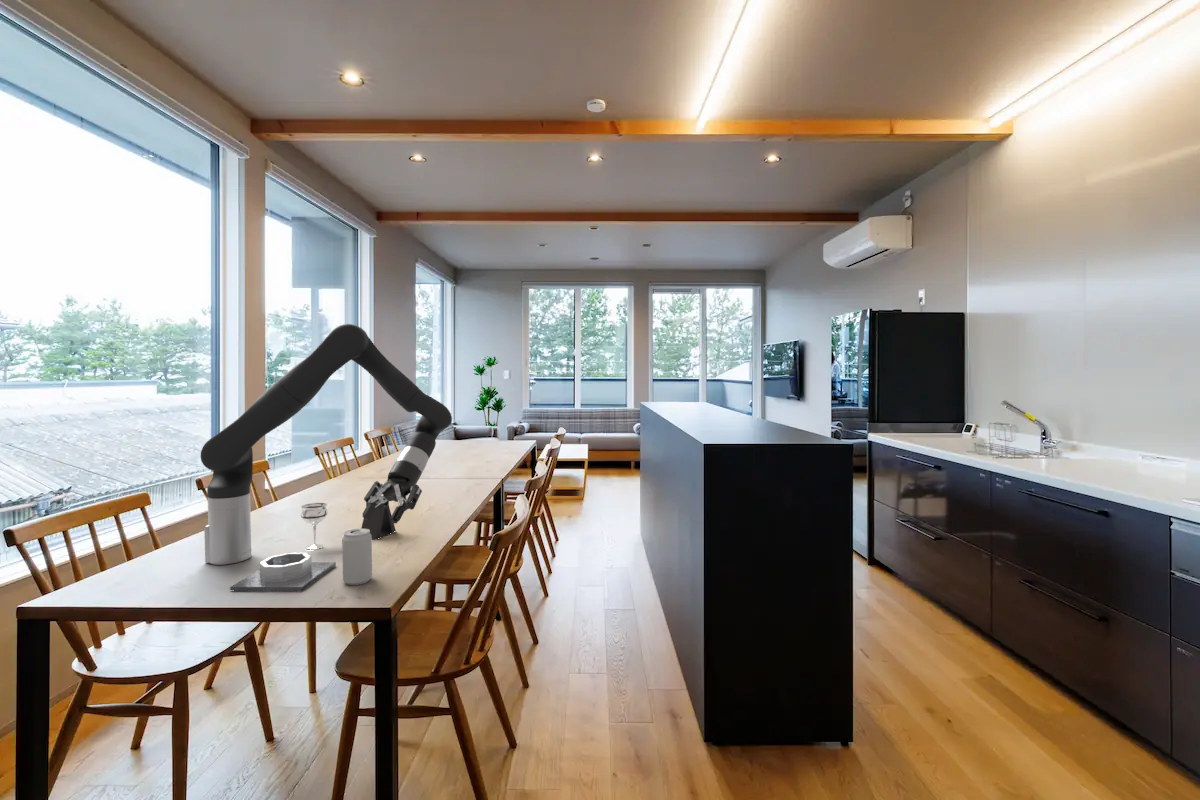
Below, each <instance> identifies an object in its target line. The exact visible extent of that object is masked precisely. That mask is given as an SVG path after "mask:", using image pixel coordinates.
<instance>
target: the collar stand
mask: <svg viewBox="0 0 1200 800" xmlns="http://www.w3.org/2000/svg"><path fill="white" fill-rule="evenodd" d="M336 566H337V565H336V561H329V562H326V561H324V562H322V561H316V562H315V561H312V556H311V555H309V553H307V552H285V553H280V554H276V555H270V556H269V557H267V558H265V559H264V560H262V561H260V562H259V569H258V570H257V571H255V572H253V573H252V574H249V575H248V576H247V577H245V578H243V579H242V580H239V581H238V582H236V583H234V584H232V585H231V586H230V587H229V590H234V591H233V592H302V591H304V590H306V589H307V588H308V587H310V586H311V585H312V584H314V583H315V582H316V581H317V579H318V580H319V579H320V578H322V577H323V576H325V573H326V574H327V573H328V572H330V571H331V570H332V569H335V567H336ZM314 581H315V582H314Z"/></svg>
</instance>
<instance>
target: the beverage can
mask: <svg viewBox="0 0 1200 800" xmlns="http://www.w3.org/2000/svg"><path fill="white" fill-rule="evenodd" d="M341 539H342V540H341V546H342V547H341V549H342V550H341V552H342V554H341V555H342V556H341V557H342V559H341V560H342V561H341V562H342V582H343V583H345V584H346V585H349V586H360V585H364V584H366V583H368V582H369V581H370V579H372V577H373V549H372V548H373V545H372V544H373V541H372V540H373V539H372V535H371V534H370V530H369V529H361V528H353V529H349V530H346V531H344V532H343V536H342V538H341ZM363 583H364V584H363ZM359 584H360V585H359Z"/></svg>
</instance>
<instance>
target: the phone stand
mask: <svg viewBox="0 0 1200 800" xmlns="http://www.w3.org/2000/svg"><path fill="white" fill-rule="evenodd" d="M371 497H372V495H371ZM371 497H370V499H371ZM381 497H382V498H384V496H383V495H381ZM378 500H379V499H377V500H376V501H374V502H377V501H378ZM365 504H366V505H365V508H366V507H367V505H368V503H367V502H366V501H365ZM391 516H392V512H391V508H390V501H387V502H385V503H381V504H380V505H378V506H377V507H376V509H375V511H374V513H373V514H372V516H371V518H370V520H365V519H364V518H363V519H362V524H361V528H360V529H369V530H370V534H371V535H372V540H373V539H377V540H379V539H378V538H380V537H382V538H384V537H383V536H385V535H387V536H389V535H391V534H390V533H392V532H394V531H397V530H396V527H395V523H393V522H392V521H391V520H390V518H391ZM394 533H395V532H394ZM388 534H389V535H388ZM392 534H393V533H392ZM385 537H386V536H385ZM380 539H381V538H380Z"/></svg>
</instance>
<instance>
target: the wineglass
mask: <svg viewBox="0 0 1200 800" xmlns="http://www.w3.org/2000/svg"><path fill="white" fill-rule="evenodd" d="M327 506H328V503H326V502H311V503H306V504H303V505H301V506H300V508H301V512H300V517H301V519H302V520H303V521H304V522H306V524H310V525H311V526H312V531H313V544H312V545H309V546H307V549H310V550H309V551H312V550H311V549H317V550H320V549H319V548H321V549H323V548H322V547H324V546H325V545H324V544H320V543H319V544H317V541H316V540H317V526H318V524H319V523H321V522H323V521H324V520H325V519H326V518H327V516H328V510H329V509H328V508H327ZM323 545H324V546H323ZM324 548H325V547H324Z"/></svg>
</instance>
